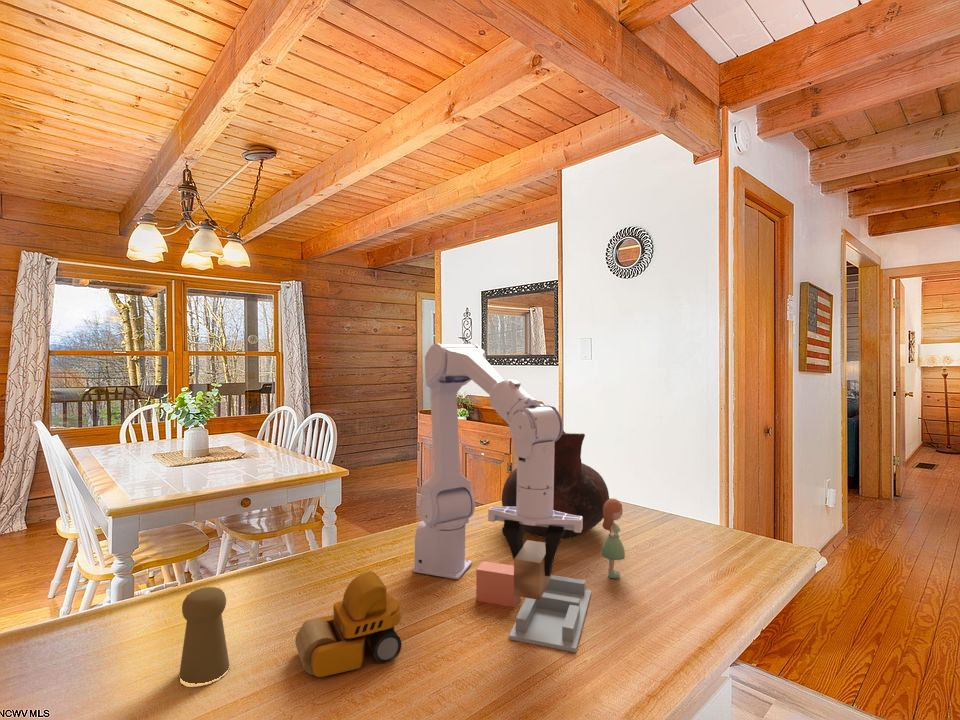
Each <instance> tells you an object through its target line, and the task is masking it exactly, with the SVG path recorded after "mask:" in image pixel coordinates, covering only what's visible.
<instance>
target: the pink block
mask: <svg viewBox="0 0 960 720" xmlns="http://www.w3.org/2000/svg"><path fill="white" fill-rule="evenodd" d="M475 579H476V580H475V581H476V583H475V588H476V589H475V591H476V592H475V594H476V595H475V598H476V599H475V601H478V602H484V603H490V604H493V605H494V604H496V605H501V606H506V607H512V608H516V607H517V605H518V603H519V602H520V600H521V598H522V597H519V596H514V565H510V564H505V563H504V564H503V563H498V562H497V563H496V562H490V561H482V562H481V563H480V564H479V565H478V567H477V568H476V578H475Z"/></svg>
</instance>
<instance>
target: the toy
mask: <svg viewBox="0 0 960 720" xmlns="http://www.w3.org/2000/svg"><path fill="white" fill-rule="evenodd" d="M622 516H623V505H622V503H621V502H620V500H618V499H616V498H615V497H614V498H609V500H607V501H606V503H605V504H604V506H603V522H602V528H603V529H604V530H606V531H609V533H608V536H607V538H606V539H605V541H604V543H603V545H602V547H601V548H602V549H601V557H603V558H604V559H607V560H608V561H609V562H608V572H607V573H608V577H609V578H611V579H621V572H620V571H619V570H615V569H614V567H615V561H621V560H624V559H625V557H626V556H625V552H626V551H625V548H624V545H623V543H622V541H621V539H620V535H619V533H620V532H621V528H620V526H619V525H618V524H617V523H615V522H614V521H619V520H620V519H621V517H622Z"/></svg>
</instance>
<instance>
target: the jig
mask: <svg viewBox="0 0 960 720" xmlns="http://www.w3.org/2000/svg"><path fill="white" fill-rule="evenodd" d="M591 596H592V590H591V589H587V588H586V579H579V578H573V577H567V576H561V575H554V574H551V578H550V580H549V582H548V584H547V586H546V588H545V591H544V593H543V595H542V597H541V599H540V600H537V599H531V598H524V599H525V600H524V602H523V603H522V605H521V607H520V609H519V611H518V613H517V615H516V616H515V623H514V624H513V626H512V628H511V630H510V633H508V634H509V635H508V640H510V641H516V642H521V643H526V644H531V645H535V646H536V645H537V646H541V647H546V648H551V649H555V650H561V651H562V650H563V651H566V652H572V653H577V650H578V646H579V641H580V638H581V634H582V630H583V627H584V623H585V619H586V615H587V613H588V612H587V611H588V609H589V604H590V600H591Z"/></svg>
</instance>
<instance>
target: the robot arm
mask: <svg viewBox="0 0 960 720" xmlns="http://www.w3.org/2000/svg"><path fill="white" fill-rule="evenodd" d="M486 358H487V357H486V352H485V350H484V349H483V348H481V347H480V346H479V344H477V343H470V344H469V343H468V344H466V343H465V344H464V343H463V344H461V343H460V344H457V343H456V344H455V343H454V344H453V343H452V344H451V343H447V344H446V343H437V342H436V343H433V344H431V345H430V347H429V348H428V351H427V352H426V354H425V356H424V372H425V373H424V374H425V386H426V387H428V388H429V393H430V394H429V395H430V415H431V416H430V420H431V440H432V441H431V443H432V463H433V464H432V466H433V474H432V475H431V476H430V477H429V478H428V479H426V481H424V482H423V483H422V484H421V486H420V488H421V489H420V491H421V492H420V498H419V503H418V511H419V515H420V518H421V521H420V522H419V524H418V525H417V527H416V531H415V533H414V534H415V535H414V567H413V569H412V572H413V573H417V574H423V575H430V576H434V577H441V578H445V579H446V578H447V579H454V580H459V579H460V578H461V577H462V576H463V574H464V573H466V571H467V569H468V568H469V567H470V566H471V565H472V564H473V562H472V560H469V559H466V525H467V524H469V523H470V522H469V521H470V518H471V517H472V516H473V515H474V514H475V510H476V500H475V496H474V493H473V489H472V482H471V480H470V479H468V478H467V477H465V476H464V475H463V474H462V473H461V464H460V463H461V459H460V438H459V436H460V435H459V419H458V418H459V417H458V415H459V414H458V396H457V395H458V392H459V391H460V390H461V388H462V387H464V386H465V385H468V383H470V382H471V381H472V382H474V383H475V384H476V385H477V386H478V387H479V388H481V389H482V390H483V391H484V392H485V393H487V394H488V395H489V397H488V402H489V405H490V406H491V408H493V410H494V411H496V413H497V414H498V415H499V417H501V418H502V419H503V420H504V421H505V422H506V423H507V424H508V428H509V433H510V436H511V440H512V442H513V452H514V455H515V456H516V468H517V498H516V507H503V506H498V505H497V506H496V505H492V506H490V507H489V508H488V510H487V513H488V515H487V522H493V523H494V522H503V526H502V529H501V530H502V534H503V536H504V539H505V540H506V542H507V544H508V546H509V549H510V552H511V555H512V559H513V560H514V559H515V557H516V556H517V554H518V553H519V551H520V550H521V548H522V547H523V545H524V539H525V531H524V527H525V525H531V526H542V527H549V528H548V530H547V531H546V533H545V538H544V543H545V547H546V561H545V576H550V575H552V573H553V568H554V567H553V566H554V563H555V562H554V561H555V558H556V554H557V551H558V548H559V546H560V543H561V541H562V540H563V539H562V536H563V534H564V532H565V530H574V532H577V533H581V531H582V529H583V517H582V516H576V515H571V514H567V513H563V512H559V511H555V510H553V499H554V446H555V441H557V440H558V439H559V438H560V437H561V435H562V431H564V422H563V417H562V415H561V413H560V412H559V411H558V410H557V408H556V407H555V406H554V405H552V404H543V403H539V401H538V399H536V398H535V397H533V396H531V395H530V394H529V393H528V392H527V391H526V390H525V389H524V388H523V387H522V386H521V382H519V380H517V379H504V378H503V377H502V376H501V375H500V374H499V373H498V372H497V370H496V369H495V368H494V367H493V366H492V365H491V363H489V362H488V360H487V359H486Z"/></svg>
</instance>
